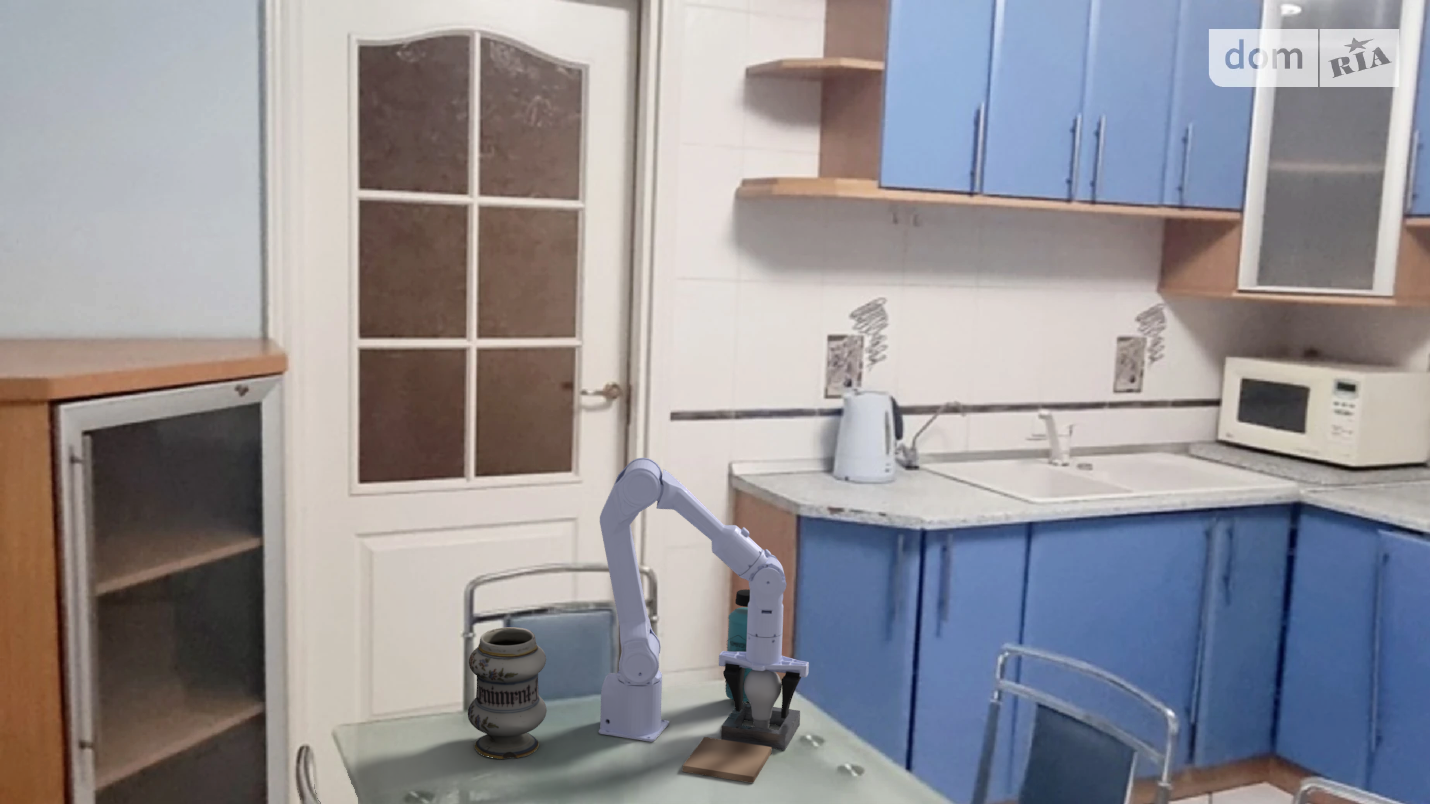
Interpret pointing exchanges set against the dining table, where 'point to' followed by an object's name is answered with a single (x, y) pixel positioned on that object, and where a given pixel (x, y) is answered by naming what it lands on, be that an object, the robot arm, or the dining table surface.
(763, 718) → the lightbulb
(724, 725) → the holder frame
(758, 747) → the walnut pad
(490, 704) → the apothecary jar
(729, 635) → the beverage bottle
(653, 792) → the dining table surface
